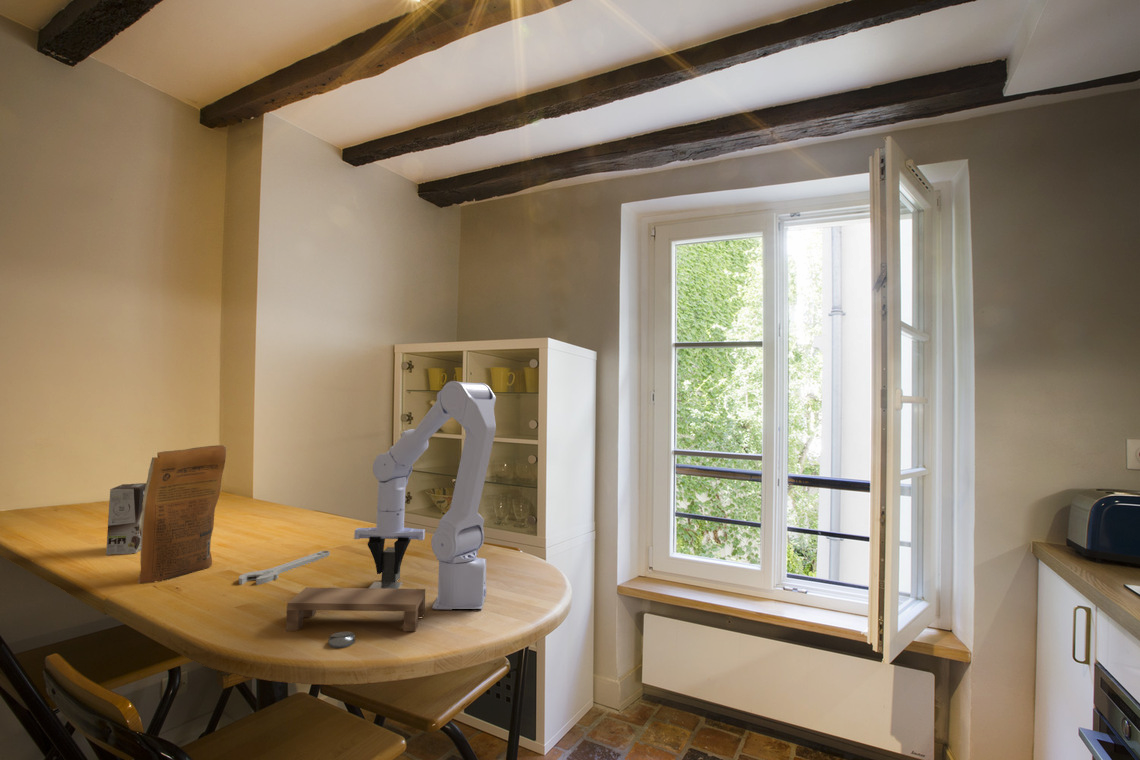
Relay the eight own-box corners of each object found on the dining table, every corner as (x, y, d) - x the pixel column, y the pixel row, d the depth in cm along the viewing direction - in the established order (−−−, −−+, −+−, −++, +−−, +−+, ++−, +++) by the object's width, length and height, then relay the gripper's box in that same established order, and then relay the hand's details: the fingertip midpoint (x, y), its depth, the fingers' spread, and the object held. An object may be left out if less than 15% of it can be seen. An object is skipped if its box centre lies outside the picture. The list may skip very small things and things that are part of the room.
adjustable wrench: (323, 556, 144) (323, 549, 145) (343, 559, 142) (343, 552, 142) (233, 584, 121) (233, 575, 121) (255, 588, 119) (255, 580, 119)
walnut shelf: (424, 614, 107) (425, 589, 107) (415, 631, 99) (416, 604, 99) (305, 612, 106) (306, 587, 106) (285, 630, 98) (287, 602, 98)
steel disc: (358, 639, 96) (358, 632, 96) (348, 650, 92) (348, 643, 92) (335, 638, 96) (335, 630, 96) (324, 648, 92) (324, 641, 92)
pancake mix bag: (230, 564, 134) (236, 445, 135) (145, 588, 116) (153, 451, 117) (210, 560, 136) (216, 443, 137) (124, 584, 118) (131, 449, 119)
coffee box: (137, 553, 140) (140, 487, 140) (104, 555, 137) (108, 488, 138) (148, 544, 148) (152, 482, 149) (118, 546, 146) (122, 483, 146)
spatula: (406, 579, 127) (407, 547, 127) (384, 609, 109) (386, 572, 109) (379, 578, 126) (380, 547, 127) (352, 608, 108) (354, 571, 109)
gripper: (428, 506, 127) (426, 567, 127) (362, 504, 126) (359, 566, 126) (422, 512, 120) (419, 577, 120) (352, 511, 119) (349, 576, 119)
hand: (388, 572), depth 122 cm, fingers closed on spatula, 3 cm apart
